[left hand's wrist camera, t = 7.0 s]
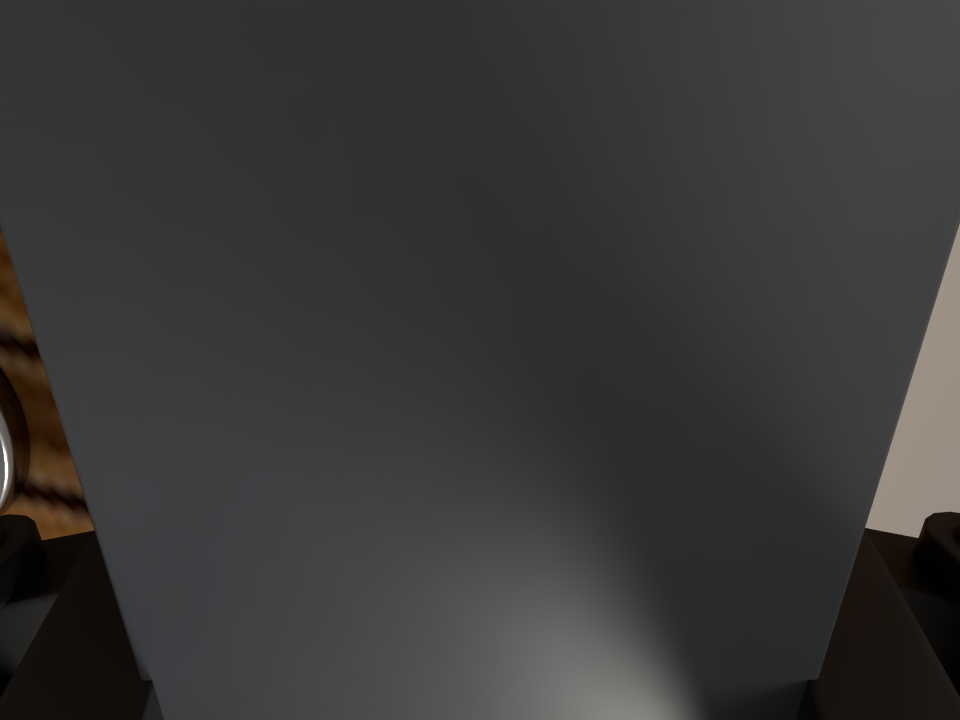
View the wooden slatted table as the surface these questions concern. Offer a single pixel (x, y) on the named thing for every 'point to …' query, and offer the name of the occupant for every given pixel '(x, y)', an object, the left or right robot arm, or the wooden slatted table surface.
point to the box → (479, 335)
